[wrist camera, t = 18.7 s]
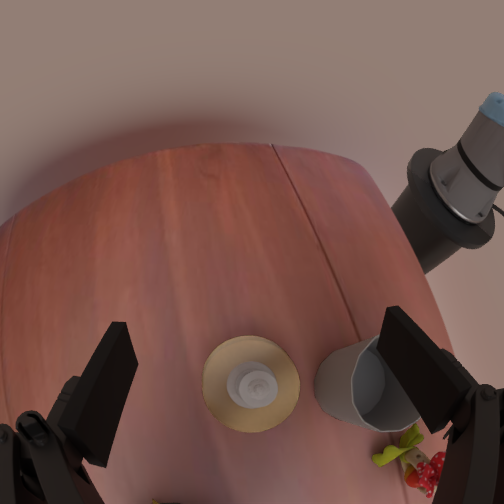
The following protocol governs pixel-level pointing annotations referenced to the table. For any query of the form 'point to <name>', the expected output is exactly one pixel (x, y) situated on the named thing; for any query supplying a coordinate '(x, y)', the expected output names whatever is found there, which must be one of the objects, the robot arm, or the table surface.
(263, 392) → the chess piece
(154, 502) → the mug
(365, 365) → the cup
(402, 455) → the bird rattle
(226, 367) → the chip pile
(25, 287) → the table surface
